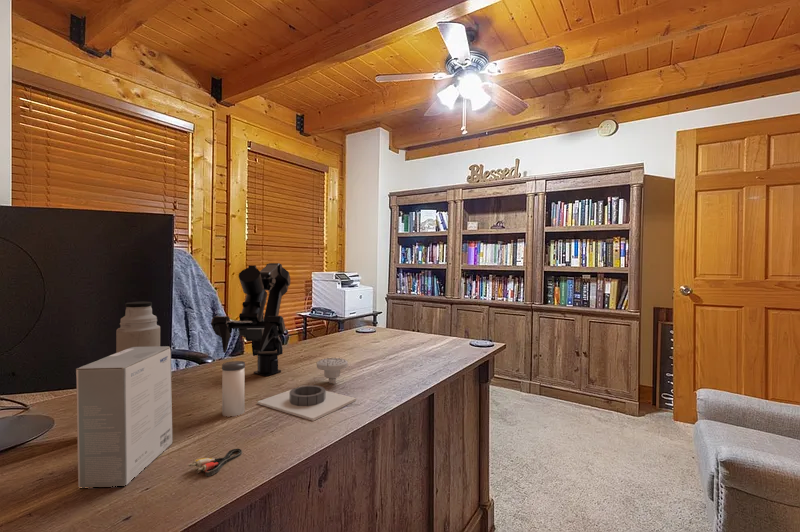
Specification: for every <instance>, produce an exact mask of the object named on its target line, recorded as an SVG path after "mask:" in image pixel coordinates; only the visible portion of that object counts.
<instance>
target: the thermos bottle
mask: <svg viewBox="0 0 800 532" xmlns="http://www.w3.org/2000/svg"><path fill="white" fill-rule="evenodd" d="M124 306H125V314H124V316H123V317H121V318H120V323H119V325H120V327H118V328H117V329H116V336H115V338H116V341H115V342H116V343H115V344H116V347H115V348H116V351H115V353H118V352H121V351H123V350H126V349H129V348H131V347H154V346H161V326H160V325H159V324H158V323H157V322H158V317H157V315H154V314H153V308H152V306H153V302H152V301H132V302H126V303H125V304H124Z"/></svg>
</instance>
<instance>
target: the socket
mask: <svg viewBox="0 0 800 532" xmlns="http://www.w3.org/2000/svg"><path fill="white" fill-rule="evenodd" d="M356 401H357V397H353V396H348V395H345V394H341V393H336V392H333V391H330V390H329V391H328V390H326V388H325V387H324V386H320V385H312V384H309V385H308V384H307V385H300V386H297V387H294V388H292V389H289V390H287V391H283V392H280V393H277V394H275V395H273V396H269V397H267V398H263V399H261V400H258V401H257V405H261V406H264V407H267V408H270V409H273V410H277V411H279V412H283V413H286V414H289V415H293V416H296V417H300V418H301V419H305V420H309V421H312V422H314V421H315V420H318V419H321V418H322V417H324V416H327V415H329V414H331V413H333V412H335V411H337V410H339V409H342V408H343V407H346V406H348V405H350V404H352V403H354V402H356Z"/></svg>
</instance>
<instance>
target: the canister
mask: <svg viewBox="0 0 800 532" xmlns="http://www.w3.org/2000/svg"><path fill="white" fill-rule="evenodd" d="M245 369H246V362H245V361H244V360H235V361H227V362H223V363H222V364H221V378H222V379H221V383H222V384H221V401H222V402H221V404H222V405H221V410H222V411H221V415H222V416H223V417H226V416H227V418H228V417H230V416H232V417H237V415H238V416H241V415H243V414H244V413H245V377H246V376H245ZM240 414H241V415H240Z"/></svg>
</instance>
